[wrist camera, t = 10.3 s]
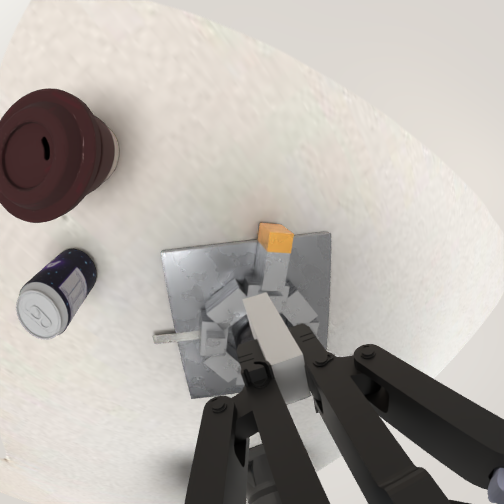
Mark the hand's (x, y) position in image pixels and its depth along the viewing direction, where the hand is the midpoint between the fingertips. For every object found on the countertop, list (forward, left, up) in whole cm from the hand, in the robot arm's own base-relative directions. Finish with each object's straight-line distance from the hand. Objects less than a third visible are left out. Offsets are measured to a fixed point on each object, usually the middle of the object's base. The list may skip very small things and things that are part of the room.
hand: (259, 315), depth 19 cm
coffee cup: (+12, +14, -18) cm, 26 cm away
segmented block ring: (-8, -3, -17) cm, 19 cm away
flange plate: (-10, -1, -18) cm, 21 cm away
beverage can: (-1, +18, -18) cm, 26 cm away
